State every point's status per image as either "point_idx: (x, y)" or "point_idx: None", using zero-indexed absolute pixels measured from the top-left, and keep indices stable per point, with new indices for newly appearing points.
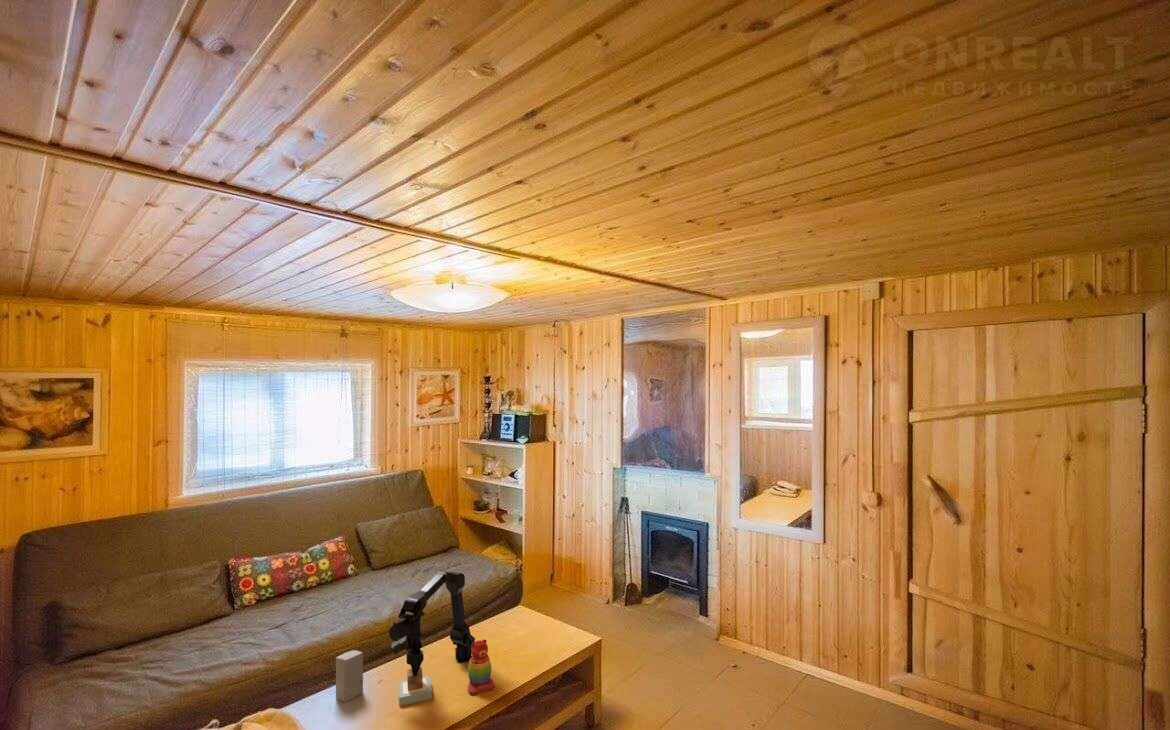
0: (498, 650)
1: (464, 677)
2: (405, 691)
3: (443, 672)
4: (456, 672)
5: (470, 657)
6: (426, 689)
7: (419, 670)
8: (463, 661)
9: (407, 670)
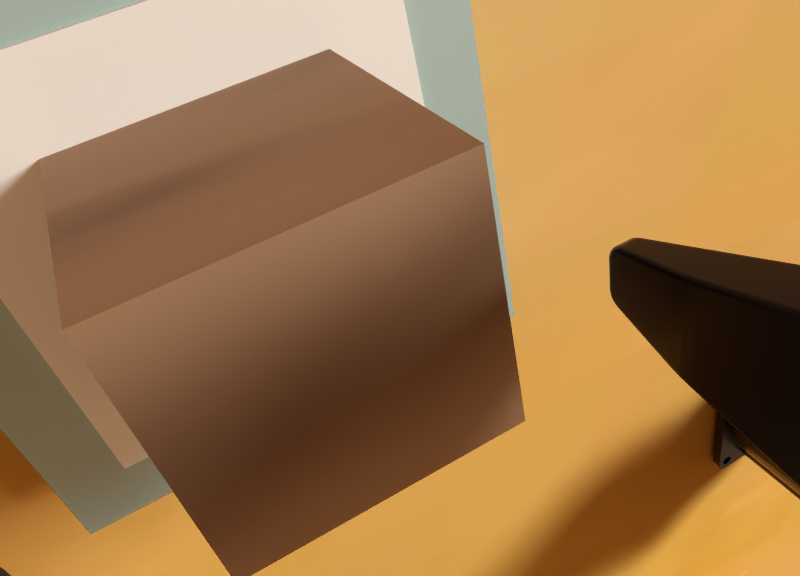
0: (745, 551)
1: (481, 535)
2: (10, 110)
3: (623, 323)
4: (581, 436)
5: (742, 449)
6: (116, 460)
7: (383, 459)
8: (718, 416)
9: (445, 165)
